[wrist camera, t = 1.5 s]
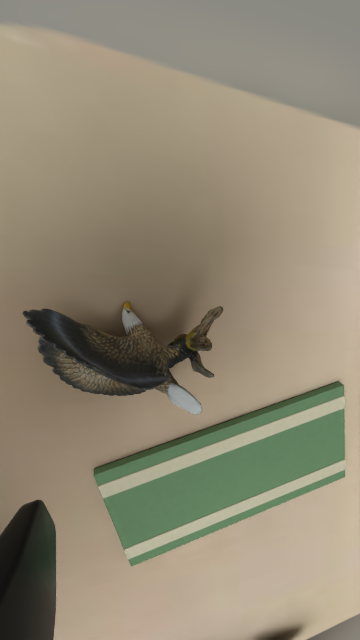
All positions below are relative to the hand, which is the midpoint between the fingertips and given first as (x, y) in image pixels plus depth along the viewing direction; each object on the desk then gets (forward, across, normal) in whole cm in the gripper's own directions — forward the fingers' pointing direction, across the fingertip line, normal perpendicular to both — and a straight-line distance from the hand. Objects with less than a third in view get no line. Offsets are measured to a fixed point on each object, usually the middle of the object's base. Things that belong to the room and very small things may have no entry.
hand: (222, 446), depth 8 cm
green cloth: (+12, -4, +15) cm, 20 cm away
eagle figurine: (+12, +2, +1) cm, 12 cm away
